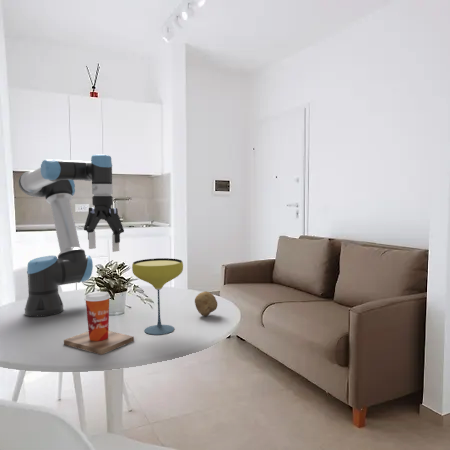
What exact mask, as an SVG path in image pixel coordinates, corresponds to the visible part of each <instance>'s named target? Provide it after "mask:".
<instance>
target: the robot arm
mask: <svg viewBox="0 0 450 450" xmlns="http://www.w3.org/2000/svg"><path fill="white" fill-rule="evenodd" d="M112 162H113V161H112V156H111V155H108V154H92V155H91V158H90V160H89V161H85V160H84V161H83V160H63V159H53V158H52V159H44V160H42V162H41V164H40V167H39V168H37V169H35V170H28V171H25V172H23V173H22V174H21V175H20V176H19V178H18V181H17V183H18V187H19V189H20V190H21V191H22V192H23V193H24V194H26V195H28V196H30V197H33V198H34V197H36V198H45V202H46V203H47V204H49V205H50V210H51V212H52V218H53V222H54V223H53V224H54V228H55V232H56V237H57V242H58V246H59V252H60V253H59V254H58V255H57V256H56V255H47V256H44V255H43V256H39V257H36V258H33V259H31V260H30V261H29V262H28V263H27V267H26V268H27V271H26V273H27V288H28V290H27V291H28V296H27V299H26V304H25V308H24V315H25V316H27V317H32V318H33V317H35V318H37V317H47V316H53V315H57V314H59V313H62V312H63V311H64V303H63V301H62V298H61V296H60V294H59V286H63V285H71V284H78V283H83V282H87V281H88V280H89V279H91V276H92V274H93V267H94V266H93V259H92V257H91V256H90V255H88V254H86V252H85V250H84V249H83V248H81V246H80V241H79V240H80V239H79V236H78V231H77V226H76V224H75V223H76V222H75V219H74V214H73V209H72V205H71V200H72V199H73V197H74V195H75V192H76V189H75V188H76V183H75V181H85V182H87V181H88V182H91V184H92V185H91V188H92V189H91V193H92V195H93V196H92V197H91V199H92V200H91V201H92V204H91V205H93V206H94V207H93V206H91V207H89V208H88V213H87V217H86V221H85V223H84V227H83V230H84V231H86V232H87V240H88V250H93V249H96V248H97V246H96V240H97V239H96V231H95V229H96V227H97V226H98V224H99V223H100V221H101V220H104V221H106V223H107V224H108V226H109V228H110V230H111V231H112V234H111V237H112V238H111V244H112V252H113V253H114V252H120V242H121V234H123V233H125V229H124V227H123V224H122V221H121V218H120V216H119V213H118V211H119V209H118V208H117V207H114V208H113V207H112V206H113V204H114V202H113V201H114V199H113V190H114V189H113V163H112ZM86 280H87V281H86Z"/></svg>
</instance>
